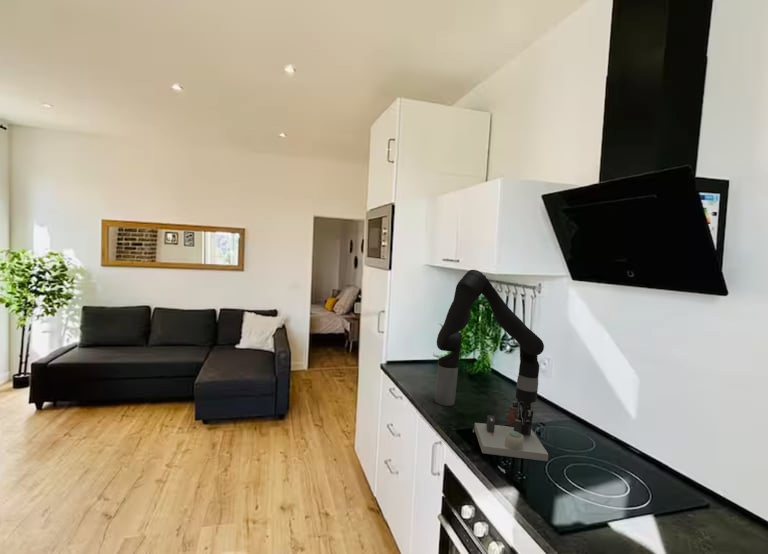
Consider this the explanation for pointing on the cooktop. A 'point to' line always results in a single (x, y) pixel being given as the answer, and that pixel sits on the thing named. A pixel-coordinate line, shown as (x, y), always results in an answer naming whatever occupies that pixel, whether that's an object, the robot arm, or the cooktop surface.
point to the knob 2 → (520, 427)
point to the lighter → (513, 413)
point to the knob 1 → (490, 423)
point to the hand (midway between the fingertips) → (522, 430)
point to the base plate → (504, 451)
